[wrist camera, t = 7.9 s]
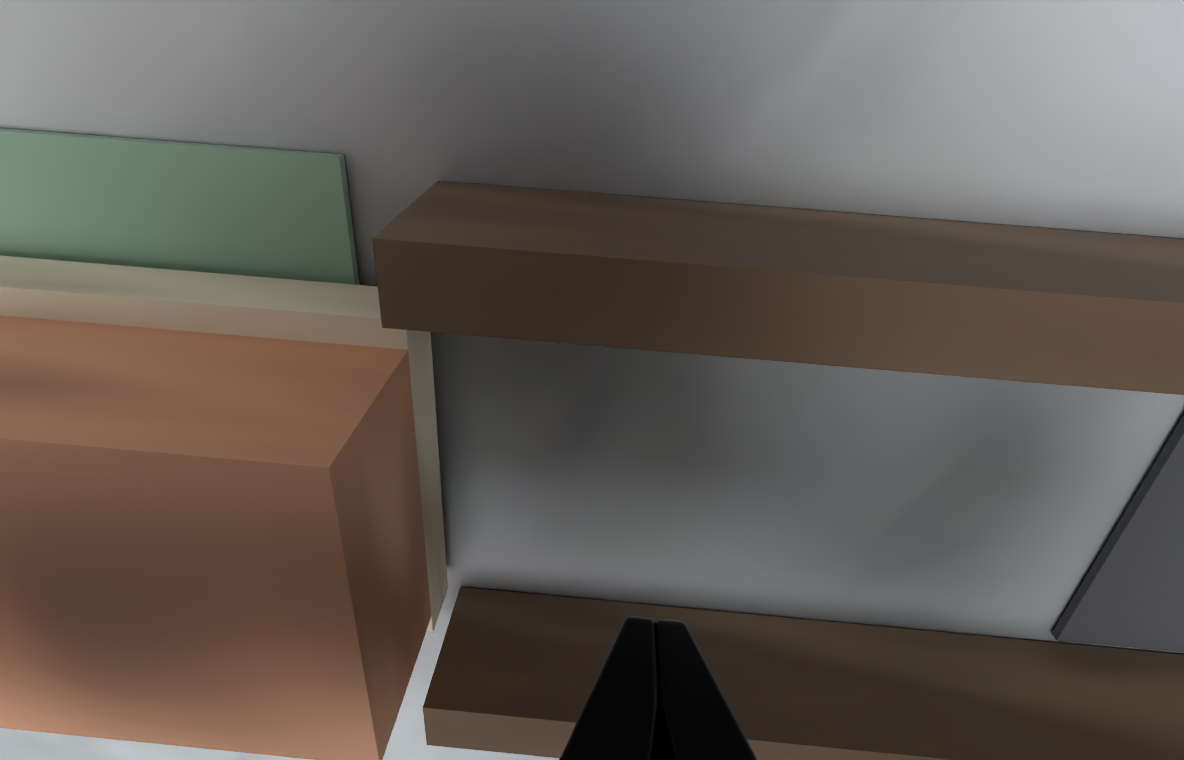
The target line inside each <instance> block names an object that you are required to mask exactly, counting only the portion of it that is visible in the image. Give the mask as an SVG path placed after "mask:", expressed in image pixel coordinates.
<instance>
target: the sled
mask: <svg viewBox="0 0 1184 760" xmlns="http://www.w3.org/2000/svg"><path fill="white" fill-rule="evenodd" d="M447 589H448V583H447V568H446V554H445V539H444V524H443V509H442V494H441V480H440V465H439V450H438V435H437V420H436V405H435V391H434V376H433V361H432V346H431V332H426V331H414V330H402V329H390V328H382V323H381V314H380V304H379V295H378V286H365V285H353V284H341V283H329V282H317V281H304V280H292V279H280V278H268V277H256V276H244V275H231V274H219V273H207V272H195V271H183V270H170V269H158V268H146V267H134V266H122V265H109V264H97V263H85V262H73V261H61V260H48V259H36V258H24V257H12V256H0V728H7V729H17V730H27V731H37V732H47V733H57V734H67V735H77V736H86V737H96V738H106V739H116V740H126V741H136V742H146V743H156V744H166V745H176V746H186V747H196V748H206V749H215V750H225V751H235V752H245V753H255V754H265V755H275V756H285V757H295V758H305V759H315V760H382V759H383V756H384V753H385V750H386V747H387V744H388V741H389V738H390V736H391V733H392V730H393V727H394V724H395V721H396V718H397V715H398V712H399V709H400V706H401V703H402V700H403V698H404V695H405V692H406V689H407V686H408V683H409V680H410V677H411V674H412V671H413V668H414V665H415V663H416V660H417V657H418V654H419V651H420V648H421V645H422V642H423V639H424V636H425V633H426V632H429V633H433V631H434V628H435V625H436V622H437V619H438V616H439V613H440V610H441V607H442V604H443V601H444V598H445V595H446V592H447Z"/></svg>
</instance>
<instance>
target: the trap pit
mask: <svg viewBox="0 0 1184 760" xmlns="http://www.w3.org/2000/svg"><path fill="white" fill-rule="evenodd" d="M1052 634H1053V635H1054V637H1055V639H1056V640H1058V641H1069V642H1079V643H1090V644H1101V645H1111V646H1122V647H1133V648H1144V649H1154V650H1165V651H1176V652H1184V415H1183V416H1182V418H1181V420H1180V421H1179V423H1178V425H1177V426H1176V428H1175V430H1174V431H1173V433H1172V434H1171V436H1170V438H1169V439H1168V441H1167V443H1166V444H1165V446H1164V448H1163V449H1162V451H1161V453H1160V454H1159V456H1158V458H1157V459H1156V461H1155V463H1154V464H1153V466H1152V468H1151V469H1150V471H1149V473H1148V474H1147V476H1146V478H1145V479H1144V481H1143V483H1142V484H1141V486H1140V488H1139V489H1138V491H1137V492H1136V494H1135V496H1134V497H1133V499H1132V501H1131V502H1130V504H1129V506H1128V507H1127V509H1126V511H1125V512H1124V514H1123V516H1122V517H1121V519H1120V521H1119V522H1118V524H1117V526H1116V527H1115V529H1114V531H1113V532H1112V534H1111V536H1110V537H1109V539H1108V541H1107V542H1106V544H1105V546H1104V547H1103V549H1102V550H1101V552H1100V554H1099V555H1098V557H1097V559H1096V560H1095V562H1094V564H1093V565H1092V567H1091V569H1090V570H1089V572H1088V574H1087V575H1086V577H1085V579H1084V580H1083V582H1082V584H1081V585H1080V587H1079V589H1078V590H1077V592H1076V594H1075V595H1074V597H1073V599H1072V600H1071V602H1070V604H1069V605H1068V607H1067V609H1066V610H1065V612H1064V613H1063V615H1062V617H1061V618H1060V620H1059V622H1058V623H1057V625H1056V627H1055V628H1054V630H1053V632H1052Z"/></svg>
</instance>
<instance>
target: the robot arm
mask: <svg viewBox="0 0 1184 760" xmlns="http://www.w3.org/2000/svg"><path fill="white" fill-rule="evenodd" d="M559 760H757V758H756V756H755V754H754V752H753V750H752V748H751V747H750V745H749V743H748V741H747V739H746V737H745V735H744V733H743V731H742V730H741V728H740V726H739V724H738V722H737V720H736V718H735V716H734V714H733V712H732V711H731V709H730V707H729V705H728V703H727V701H726V699H725V697H724V695H723V694H722V692H721V690H720V688H719V686H718V684H717V682H716V680H715V678H714V677H713V675H712V673H711V671H710V669H709V667H708V665H707V663H706V661H705V660H704V658H703V656H702V654H701V652H700V650H699V648H698V646H697V644H696V642H695V641H694V639H693V637H692V635H691V633H690V631H689V629H688V627H687V626H686V624H685V623H684V622H682V621H678V620H668V619H658V620H656V622H654V620H653V619H651V618H647V617H636V616H628V617H626V618H625V620H624V622H623V624H622V626H621V628H620V630H619V632H618V634H617V637H616V639H615V641H614V643H613V645H612V647H611V649H610V652H609V654H608V656H607V658H606V660H605V662H604V665H603V667H602V669H601V671H600V673H599V675H598V678H597V680H596V682H595V684H594V686H593V688H592V690H591V693H590V695H589V697H588V699H587V701H586V703H585V706H584V708H583V710H582V712H581V714H580V716H579V719H578V721H577V723H576V725H575V727H574V729H573V731H572V734H571V736H570V738H569V740H568V742H567V744H566V747H565V749H564V751H563V753H562V755H561V757H560V759H559Z"/></svg>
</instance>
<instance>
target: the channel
mask: <svg viewBox="0 0 1184 760" xmlns="http://www.w3.org/2000/svg"><path fill="white" fill-rule="evenodd" d="M372 239H373V249H374V258H375V267H376V276H377V286H378V295H379V304H380V314H381V323H382V328H390V329H402V330H414V331H426V332H438V333H450V334H462V335H474V336H486V337H497V338H509V339H521V340H533V341H545V342H557V343H569V344H581V345H593V346H605V347H617V348H629V349H641V350H653V351H665V352H677V353H689V354H701V355H713V356H725V357H737V358H749V359H761V360H772V361H784V362H796V363H808V364H820V365H832V366H844V367H856V368H868V369H880V370H892V371H904V372H916V373H928V374H940V375H952V376H964V377H976V378H988V379H1000V380H1012V381H1024V382H1036V383H1047V384H1059V385H1071V386H1083V387H1095V388H1107V389H1119V390H1131V391H1143V392H1155V393H1167V394H1179V395H1184V239H1179V238H1166V237H1153V236H1141V235H1128V234H1115V233H1102V232H1089V231H1076V230H1063V229H1051V228H1038V227H1025V226H1012V225H999V224H986V223H973V222H960V221H948V220H935V219H922V218H909V217H896V216H883V215H870V214H858V213H845V212H832V211H819V210H806V209H793V208H780V207H768V206H755V205H742V204H729V203H716V202H703V201H690V200H677V199H665V198H652V197H639V196H626V195H613V194H600V193H587V192H575V191H562V190H549V189H536V188H523V187H510V186H497V185H484V184H472V183H459V182H446V181H438V182H436V183H435V184H434V185H433V186H432V187H431V188H430V189H428V190H427V191H426V192H425V193H424V194H423V195H422V196H420V197H419V198H418V199H417V200H416V201H415V202H413V203H412V204H411V205H410V206H409V207H408V208H407V209H405V210H404V211H403V212H402V213H401V214H400V215H399V216H397V217H396V218H395V219H394V220H393V221H392V222H391V223H389V224H388V225H387V226H386V227H385V228H384V229H383V230H381V231H380V232H379V233H378V234H377V235H376V236H374V237H373V238H372ZM628 616H636V617H647V618H651V619H653V620H654V622H656V620H658V619H668V620H678V621H682V622H684V623H685V624H686V626H687V627H688V629H689V631H690V633H691V635H692V637H693V639H694V641H695V642H696V644H697V646H698V648H699V650H700V652H701V654H702V656H703V658H704V660H705V661H706V663H707V665H708V667H709V669H710V671H711V673H712V675H713V677H714V678H715V680H716V682H717V684H718V686H719V688H720V690H721V692H722V694H723V695H724V697H725V699H726V701H727V703H728V705H729V707H730V709H731V711H732V712H733V714H734V716H735V718H736V720H737V722H738V724H739V726H740V728H741V730H742V731H743V733H744V735H745V737H746V739H747V741H748V743H749V745H750V747H751V748H752V750H753V752H754V754H755V756H756V758H757V760H1184V655H1181V654H1171V653H1160V652H1149V651H1139V650H1128V649H1117V648H1106V647H1096V646H1085V645H1074V644H1064V643H1053V642H1042V641H1032V640H1021V639H1010V638H1000V637H989V636H978V635H967V634H957V633H946V632H935V631H925V630H914V629H903V628H893V627H882V626H871V625H860V624H850V623H839V622H828V621H818V620H807V619H796V618H786V617H775V616H764V615H753V614H743V613H732V612H721V611H711V610H700V609H689V608H679V607H668V606H657V605H647V604H636V603H625V602H614V601H604V600H593V599H582V598H572V597H561V596H550V595H540V594H529V593H518V592H507V591H497V590H486V589H475V588H465V587H460V590H459V593H458V596H457V599H456V602H455V606H454V609H453V612H452V615H451V619H450V622H449V625H448V628H447V632H446V635H445V638H444V641H443V644H442V648H441V651H440V654H439V657H438V661H437V664H436V667H435V670H434V673H433V677H432V680H431V683H430V686H429V690H428V693H427V696H426V699H425V703H424V706H423V713H424V722H425V732H426V741H427V745H434V746H444V747H454V748H464V749H474V750H484V751H494V752H504V753H514V754H524V755H534V756H544V757H554V758H560V757H561V755H562V753H563V751H564V749H565V747H566V744H567V742H568V740H569V738H570V736H571V734H572V731H573V729H574V727H575V725H576V723H577V721H578V719H579V716H580V714H581V712H582V710H583V708H584V706H585V703H586V701H587V699H588V697H589V695H590V693H591V690H592V688H593V686H594V684H595V682H596V680H597V678H598V675H599V673H600V671H601V669H602V667H603V665H604V662H605V660H606V658H607V656H608V654H609V652H610V649H611V647H612V645H613V643H614V641H615V639H616V637H617V634H618V632H619V630H620V628H621V626H622V624H623V622H624V620H625V618H626V617H628Z"/></svg>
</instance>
